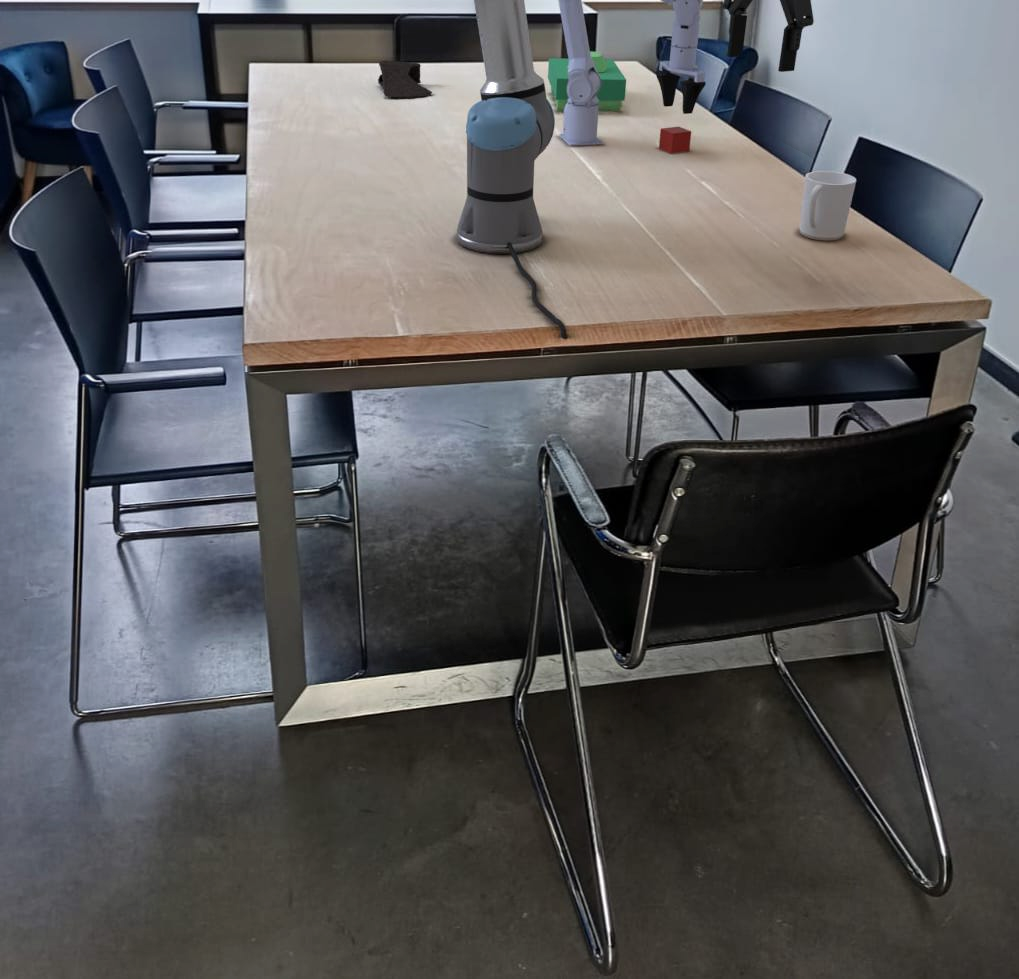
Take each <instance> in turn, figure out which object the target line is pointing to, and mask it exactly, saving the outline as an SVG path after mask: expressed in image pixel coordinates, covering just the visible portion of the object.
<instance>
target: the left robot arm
mask: <svg viewBox="0 0 1019 979" xmlns="http://www.w3.org/2000/svg"><path fill="white" fill-rule="evenodd" d="M752 2H753V0H724V1H723V3H722V9H723V10H727V11H728V14H729V15H730V16H729V26H728V35H729V37H728V46H727V54H726V57H727V58H738V57H739V58H740V57H743V53H744V47H745V46H744V45H745V38H746V27H747V20H748V15H747V14H748V12H747V10H748V8H749V6H751V3H752ZM779 2H780V5H781V8H782V11H783V14H784V17H785V20H786V23H787V25H786V26H785V27H784V28H783V36H782V42H781V49H780V55H779V63H778V69H777V70H778V72H780V73H785V72H794V71H795V68H796V61H797V54H798V51H799V49H800V48H801V47H800V46H801V40H802V34H803V29H804V28H807V27H810V26H813V25H814V21H815V20H814V12H813V7H812V0H779ZM473 3H474V9H475V10H474V11H475V15H476V21H477V28H478V34H479V40H480V47H481V53H482V58H483V59H482V60H483V65H484V71H485V77H486V80H485V82H484V83H483V85H482V87H481V88H480V89H479V94H480V99H481V100H480V101H478V102H475V104H473V105H472V106H471V107H470V109H468V111H467V119H466V123H465V124H466V125H465V133H466V192H467V193H466V198H465V202H464V205H463V209H462V211H461V214H460V218H459V220H458V224H457V228H456V241H457V243H458V244H459V245H461V246H462V247H464V248H466V249H468V250H470V251H475V252H479V253H486V254H497V255H499V254H500V255H506V254H507V255H508V254H510V255H511V257H512V259H513V261H514V263H515V266H516V268H517V270H518V271H519V272H520V273H521V275H522V276H523V277H524V278H525V279H526V280H527V281H528V282H529V283H530V286H531V300H532V302H533V304H534V305H535V307H536V308H538V309H539V310H540V311H541V313H543V314H544V315H546V317H548V318H549V319H550V320H551V321H552V322H553V323H554V324H555V325H557V326H558V327H559V330H560V335H561V338H562V339H563V340H568V339H569V336H568V333H567V328H566V326H565V323H564V322H563V321H562V320H560V319H559V318H557V317H556V316H555V315H554V314H553V313H552V312H551V311H550V310H549V309H548V308H546V307H545V306H544V305H543V304H542V303H541V302H540V300H539V299H538V297H537V296H538V295H537V293H538V286H537V283H536V281H535V279H534V278H533V277H532V276H531V275H530V274H529V273H528V272H527V271H526V270H525V269H524V266H523V265H522V263H521V260H520V259H519V256H518V255H517V253H524V252H527V251H530V250H533V249H536V248H538V247H539V246H540V245H541V244H542V243H543V229H542V224H541V221H540V220H541V219H540V218H539V214H538V213H539V212H538V210H537V206H536V204H535V199H534V184H535V181H534V180H535V161H536V160H537V159H538V157H539V156H540V155H541V154H542V153H543V152H544V151H545V150H546V149H547V147H548V146H549V145H550V142H551V141H552V138H553V136H554V131H555V125H556V118H555V112H554V109H553V107H552V105H551V102H550V101H549V100H548V99H547V92H546V85H545V80H544V78H543V77H541V75H539V74H537V73H536V71H535V69H534V68H535V67H534V60H533V54H532V45H531V40H530V33H529V32H530V31H529V26H528V18H527V11H526V4H525V0H473ZM558 491H559V492H564V491H565V485H561V484H559V485H558Z"/></svg>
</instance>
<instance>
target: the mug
mask: <svg viewBox="0 0 1019 979" xmlns="http://www.w3.org/2000/svg"><path fill="white" fill-rule="evenodd" d="M856 183H857V178H856V177H855V176H853V175H851V174H848V173H844V172H840V171H832V170H816V171H809V172H807V173H806V174H805V177H804V184H803V194H802V203H801V212H800V219H799V228H798V232H799V234H800V235H802V236H803V237H805V238H809V239H812V240H817V241H836V240H840V239H842V238H843V237H844V236H845V230H846V227H847V221H848V217H849V215H850V214H849V213H850V209H851V205H852V201H853V196H854V193H855V189H856Z"/></svg>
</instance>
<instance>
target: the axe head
mask: <svg viewBox="0 0 1019 979" xmlns="http://www.w3.org/2000/svg"><path fill="white" fill-rule="evenodd" d="M378 66H379V68H380V72H381V74H379V75H378V79H377V84H378V85H379V86H380V87H381V88H382V89H383V95H384V96H385V97H388V98H394V99H395V98H396V99H403V98H405V99H406V98H407V99H411V98H418V97H425V96H429V95H432V94H433V91H431V90H430V89H428V88H427V87H425V86H422V85H421V84H422V82H421V63H419V62H410V61H408V62H407V61H397V60H388V59H387V60H380V61H379V62H378Z"/></svg>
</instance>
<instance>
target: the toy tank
mask: <svg viewBox="0 0 1019 979" xmlns="http://www.w3.org/2000/svg"><path fill="white" fill-rule="evenodd" d="M590 55H591V57H592V59H593V61H594V65H595V69H596V71H597V72H598V74H599V75H600V78H601V88H600V90H599V91H598V93H597V94H596V95H597V98H598V100H599V109H598V112H621V109H622V102H624V101H625V100H626V89H627V88H626V87H627V78H626V77H625V76H624V74H623V73H622V71H621V69H620V68H619V67H618V65H617V64H616V62H615V61H614V59H610V58H609V59H606V58H604V54H602V53H601V52H598V51H592V50H590ZM547 64H548V65H547V80H548V83H549V85H550V91H551V94H552V95H554V99H555V110H556V111H560V112H561V111H563V112H564V108H565V105H566V104H567V102H568V99H569V97H568V94H567V85H568V81H569V77H568V66H569V58H556V57H555V58H553V57H552V58H551V57H549V58H548V63H547Z"/></svg>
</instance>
